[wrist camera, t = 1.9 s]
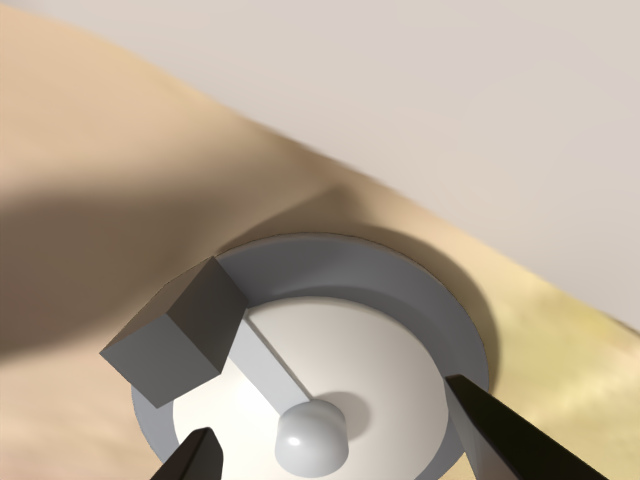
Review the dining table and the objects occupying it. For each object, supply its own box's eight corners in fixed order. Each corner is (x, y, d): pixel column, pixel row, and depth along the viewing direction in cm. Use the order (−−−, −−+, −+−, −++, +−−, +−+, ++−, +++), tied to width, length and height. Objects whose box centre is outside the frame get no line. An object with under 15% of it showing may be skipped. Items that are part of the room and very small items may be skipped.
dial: (482, 439, 20) (542, 549, 15) (277, 528, 23) (266, 649, 18) (325, 183, 15) (332, 212, 10) (78, 337, 17) (-28, 429, 12)
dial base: (69, 346, 20) (47, 366, 18) (379, 155, 16) (386, 158, 15) (270, 535, 26) (267, 561, 24) (524, 425, 23) (540, 447, 21)
